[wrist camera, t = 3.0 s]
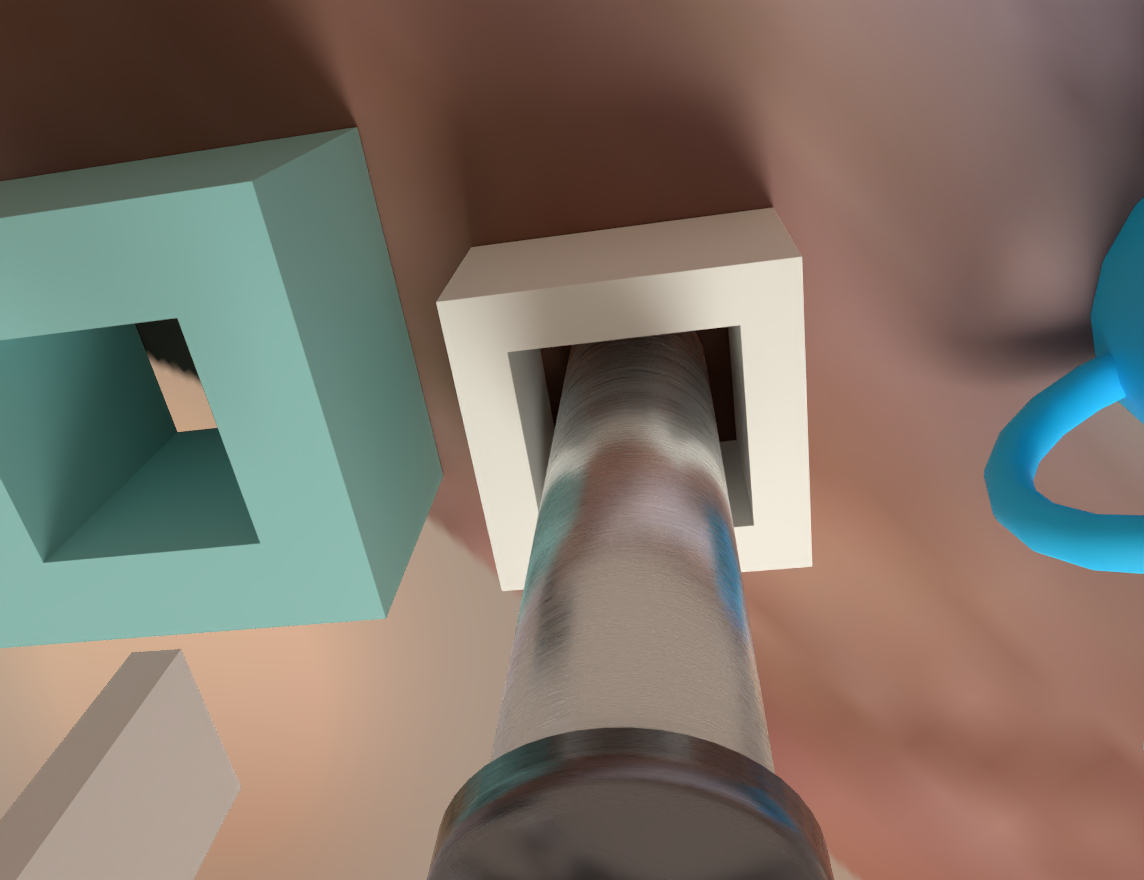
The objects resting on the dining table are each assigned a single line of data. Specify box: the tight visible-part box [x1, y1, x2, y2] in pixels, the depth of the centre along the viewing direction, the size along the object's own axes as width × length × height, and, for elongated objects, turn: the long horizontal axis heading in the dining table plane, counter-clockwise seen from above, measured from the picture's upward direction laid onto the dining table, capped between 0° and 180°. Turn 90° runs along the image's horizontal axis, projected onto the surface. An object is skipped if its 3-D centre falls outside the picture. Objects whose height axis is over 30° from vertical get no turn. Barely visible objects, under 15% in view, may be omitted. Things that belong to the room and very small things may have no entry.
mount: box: [436, 207, 812, 591], centre depth 20 cm, size 7×7×4 cm
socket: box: [0, 127, 443, 648], centre depth 20 cm, size 9×9×6 cm
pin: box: [427, 331, 834, 880], centre depth 15 cm, size 4×4×15 cm
